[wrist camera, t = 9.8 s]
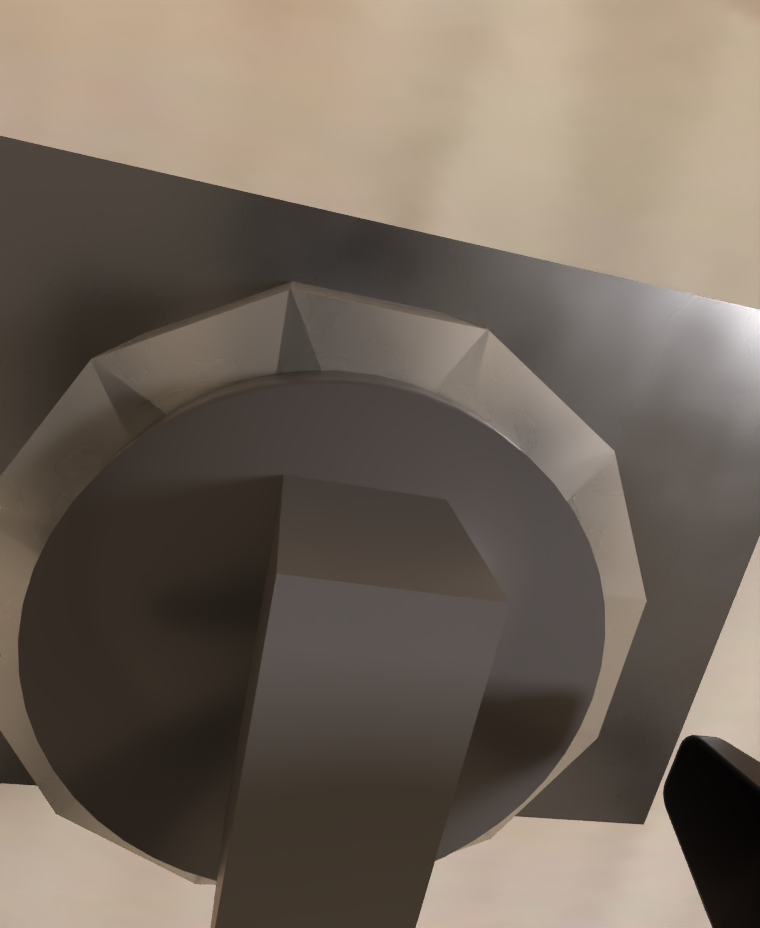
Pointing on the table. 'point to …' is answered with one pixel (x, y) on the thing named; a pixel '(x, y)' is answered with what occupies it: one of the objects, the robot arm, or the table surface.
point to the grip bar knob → (311, 643)
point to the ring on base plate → (397, 357)
